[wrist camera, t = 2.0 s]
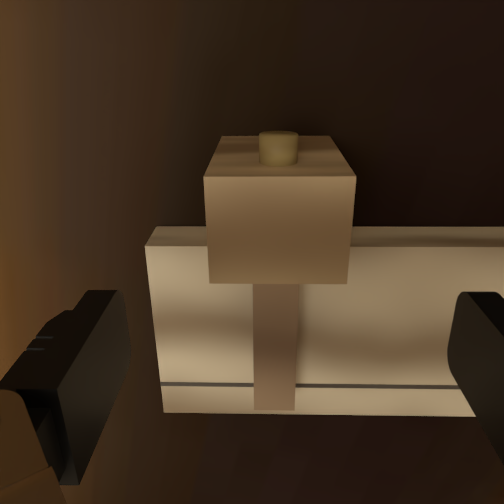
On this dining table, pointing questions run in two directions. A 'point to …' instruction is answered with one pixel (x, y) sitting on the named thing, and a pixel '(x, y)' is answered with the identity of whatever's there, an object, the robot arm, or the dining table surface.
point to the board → (325, 324)
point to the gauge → (278, 238)
